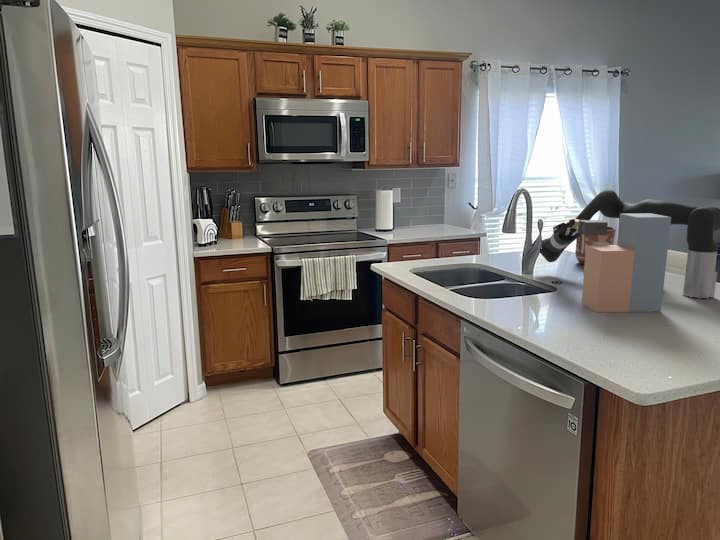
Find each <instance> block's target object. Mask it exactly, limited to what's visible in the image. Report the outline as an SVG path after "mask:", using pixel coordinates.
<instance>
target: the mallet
mask: <svg viewBox="0 0 720 540" xmlns="http://www.w3.org/2000/svg"><path fill="white" fill-rule="evenodd" d="M572 219H573V218H569V219H568V222H569V221H570V220H572ZM574 219H575V218H574ZM608 225H609V222H608V221H605V220H601V219H590V220H578V219H575V224H574V225H573V226H572V227H571V228H574V229H577V230H578V233H581V234H584V235H607V227H609V226H608Z"/></svg>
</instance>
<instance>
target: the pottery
mask: <svg viewBox="0 0 720 540" xmlns="http://www.w3.org/2000/svg"><path fill="white" fill-rule="evenodd" d="M616 230H617V228H615V227H612V226H608V227H607V235H584V234H581V235H580V236H579V237H578V238H577V239H576V240H575V241H576V243H575V257H576V260H577V262H578V263H579V264H580V265H582V266H585V253H586V245H615V244H614V242H615V236H616Z"/></svg>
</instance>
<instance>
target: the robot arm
mask: <svg viewBox="0 0 720 540" xmlns="http://www.w3.org/2000/svg"><path fill="white" fill-rule="evenodd" d="M598 212H600V213H601V215H602V216H604V217H606V218H610V219H611V218H612V219H620V214H638V213H652V214H657V215H662V216H668V217H671V224H670V226H671V225H681V226H683V225H685V226H687V229H686V242H687V245H688V247H687V254H686V265H685V273H684V280H683V281H684V282H683V289H682V295H683V296H684V297H688V296H689V298H692V297H697V298H696V299H702V298H706V299H710V298H709V297H711V298H715V295H716V294H715V293H716V286H717V277H718V272H717V271H716V265H717V256H718V250H719V245H718V243H717V242H715V241H714V232H716V231H719V230H720V207H716V206H696V205H695V206H694V205H686V204H681V203H677V202H672V201H665V200H662V199H661V200H659V199H654V198H653V199H652V198H651V199H649V198H647V199H644V200H641V201H639V202H637V203H630V202H624V201H622V200H621V199H620V197H619V195H618V194H617V192H616V191H615V190H613V189H609V188H608V189H605V190H602V191H600V192H599V193H598V194H597V195H595V197H593V199H592V200H591V201H590V202H588V204H587V205H586V206H585V207H584V208H583V209H582V210H581V212H580V213H578V215H577V216H576V217H575V218H571V219H572V220H570V221H569V220H568V221H567V222H561V223H559V224H557V225H555V226H553V227H552V231H553V233H552V235H551V236H550V237H548V238H544V239H542V240H541V241H542V245H541V246H542V249H540V252H539V253H540V255H541V256H542V257H543V258H544V259H545V260H546V262H547V263H554V262H556V261H557V260H558V259H559V258H560V256H561V255H562V254H563V252H564V251H565V249H566V248H568V246H570V244H572V243H573V242H574V241H576V239H577V238H578V237H579V236H580V235H581V233H578V230H577V229H574V228H571V227H572V226H573V225H574V224H575V219H578V220H592V218H593V217H594V216H595V215H597V213H598Z"/></svg>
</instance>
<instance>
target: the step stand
mask: <svg viewBox="0 0 720 540" xmlns="http://www.w3.org/2000/svg"><path fill="white" fill-rule="evenodd" d="M618 219H619V220H618V221H619V222H618V229H617V230H618V231H617V232H618V233H617V242H616V243H617V244H613V245H586V253H585V265H583V267H584V268H583V269H584V270H583V278H582V279H583V281H582V293H581V295H582V296H581V304H582V305H584V306H585V307H587V308H589V309H590V310H592V311H594V312H595V313H646V312H647V313H648V312H650V311H661V312H662V306H663V305H662V304H663V297H664V296H663V294H664V289H665V279H666V277H665V276H666V268H667V259H668V248H669V240H670V231H671V230H670V229H671V217H668V216H662V215H657V214H652V213H638V214H620V218H618ZM650 313H651V312H650Z"/></svg>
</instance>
